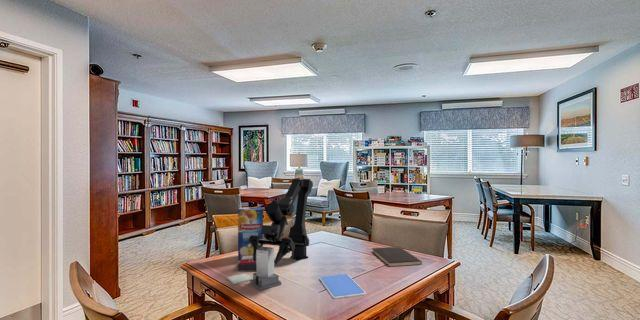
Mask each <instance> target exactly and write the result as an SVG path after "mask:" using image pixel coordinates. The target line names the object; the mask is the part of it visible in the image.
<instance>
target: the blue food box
mask: <svg viewBox="0 0 640 320" xmlns="http://www.w3.org/2000/svg"><path fill="white" fill-rule="evenodd" d="M262 225H264V206H263V207H262V206H261V207H260V206H259V207H257V206H256V207H254V206H253V207H239V208H238V209H237V241H238V242H237V257H238V258H237V259H238V261H240V260H241V259H242V257H243V256H253V246H252V245H251V243H250V242H249V241H248V239H249V237H250V236H251V235H259V236H260V237H261V239H264V234H261V228H262ZM262 247H264V245H263V246H262Z"/></svg>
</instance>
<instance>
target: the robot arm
mask: <svg viewBox="0 0 640 320" xmlns="http://www.w3.org/2000/svg"><path fill="white" fill-rule="evenodd" d="M313 187H314V183H313V181H312V180H311V178H292V180H291V184H290V186H289V188H288V189H287V192H286V193H285V195H284V197H283V198H281V199H280V200H279V201H277V200H272V202H270V203H268V204H267V205H266V206H265V208H264V212H265V213H266V216H267V217H268V218H269V220H270V221H271V225H270V224H269V225H267V224H265V225H264V224H263V225H262V228H261V234H263V239H261V237H260V236H259V235H251V236H250V237H249V239H248V241H249V242H250V243H251V245H252V246H253V261H254V262H255V261H256V250H258V249H260V248H261V247H262V246H263V247H264V245H268V246H279V247H278V250H277V253H276V255H275V257H274V259H275V262H274V265H277V264H278V263H279V262H280V260H282V259H283V258H284V257H285V256H286V255H287V254H290V253H291V255H290V258H293V260H294V259H295V260H296V261H299V260H305V259H308V258H309V256H308V255H307V247H309V245H310V239H309V237H308V234H307V232H308V231H307V229H306V227H305V220H306V212H307V211H306V210H307V204H308V203H307V202H308V197H309V195H310V194H311V193H312V190H313V189H312V188H313ZM296 199H297V202H296V209H295V205H294V203H295V201H296ZM294 210H295V211H294ZM294 212H295V218H294V224H293V225H292V226H290V228H289V234H288V237H284V236H285V235H284V234H285V233H284V230H285V227H286V226H287V225H289V222H288V219H287V217H292V215H293V213H294ZM264 238H265V239H264Z"/></svg>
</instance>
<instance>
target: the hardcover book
mask: <svg viewBox="0 0 640 320" xmlns="http://www.w3.org/2000/svg"><path fill="white" fill-rule="evenodd" d="M371 250H372V253H374V254H375V255H376V256H377V257H378V258H379V259H381V260H382V261H383V262H384V263H385V264H386V265H387V266H389V267H398V266H413V265H422V264H423V262H422V260H421V259H419V258H418V257H416V256H414V255H413V254H411V253H410V252H408V251H407V250H405V249H404V248H402V247H401V246H389V247H374V248H371Z"/></svg>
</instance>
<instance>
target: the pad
mask: <svg viewBox="0 0 640 320" xmlns="http://www.w3.org/2000/svg"><path fill="white" fill-rule="evenodd" d="M226 278H227V280H228V281H229V282H230V283H231V284H232V285H239V284H242V283H246V282H250V280H252V279H253V277H251V276H249V275H248V274H247V273H246V272H245V273H240V274H234V275H231V276H230V275H229V276H227V277H226Z"/></svg>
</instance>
